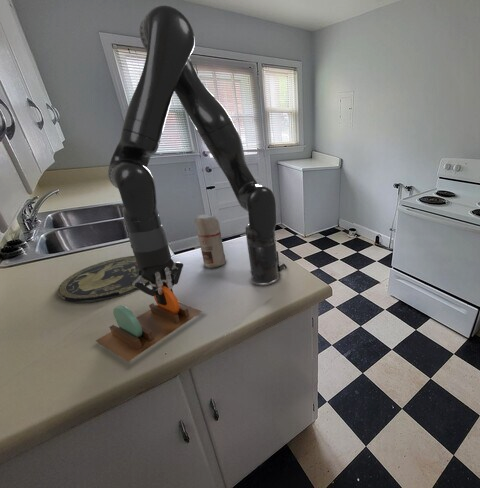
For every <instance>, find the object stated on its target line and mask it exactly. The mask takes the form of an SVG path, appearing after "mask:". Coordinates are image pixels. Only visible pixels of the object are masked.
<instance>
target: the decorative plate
mask: <svg viewBox="0 0 480 488" xmlns="http://www.w3.org/2000/svg"><path fill="white" fill-rule="evenodd" d="M138 273H139V267H138V265H137V262H136V259H135V256H134V255H129V256H122V257H118V258H112V259H109V260H105V261H100V262H98V263H96V264H92V265H90V266H88V267H85V268H82V269H80V270H79V271H76V272H74V273H73V274H71V275H70V276H68V277H67V278H65V279H64V280H63V281H62V282H61V284H60V285H59V286H58V289H57V292H58V297H59V298H60V299H61V300H62V301H65V302H67V303H75V304H79V303H80V304H83V303H93V302H94V303H95V302H101V301H106V300H111V299H113V298H117V297H121V296H123V295H126V294H130V293H133V292H134V291H137V290H138V289H137V288H135V287H134V286H132V285H131V284H130V283H131V281H135V280H136V279H137V278H138V277H139V274H138ZM144 282H145V285H144V286H147V285H148V284H150V283H149V281H147V280H145V279H144Z"/></svg>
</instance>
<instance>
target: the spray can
mask: <svg viewBox="0 0 480 488" xmlns="http://www.w3.org/2000/svg"><path fill="white" fill-rule="evenodd" d="M193 221H194V222H193V223H194V225H195V228H196V235H197V238H198V242H199V247H200V250H201V256H202V261H203V267H204V268H209V269H210V268H211V269H214V268H218V267H219V268H220V267H221V266H223V265H226V263H227V259H226V255H225V250H224V244H223V239H222V233H221V232H222V231H221V226H220V222H219V219H218V218H217V216H216V215H213V214H203V213H202V214H198V215H197V216H196V217H195V218H194V219H193Z"/></svg>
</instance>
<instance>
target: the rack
mask: <svg viewBox="0 0 480 488" xmlns="http://www.w3.org/2000/svg"><path fill="white" fill-rule="evenodd" d="M178 303H179V307H180V310H179V312H178V313H177V314H175V313H173V312H171V311H169V310H166V309H164V308H162V307H160V306H158V305H157V304H156V303H154V302H152V303H150V304H149V310H147V311H145V312H144V313H142V314H140V315H138V316H136V318H137V319H138V321H139V323H140V325H141V328H142V336H141V337H139V338H137V337H135V336H133V335H131V334H129V333H128V332H126V331H124V330H122V329H121V328H120V327H119V326H117V325H116V324H112V325H109V330H110V332H108V333H106V334H104V335H102V336H101V337H98V338H97V339H96V340H95V342H97V343H98V344H99V345H101V346H102V347H104V348H106V349H108V350H109V351H111V352H112V353H114V354H116V355H117V356H118V357H120V358H122V359H123V360H125V361H126V362H130V361H132V360H133V359H135V358H136V357H138V356H139V355H140V354H142V353H144V352H145V351H146V350H148V349H149V348H151V347H153V346H154V345H156V344H157V343H158V342H160V341H161V340H163V339H164V338H166V337H167V336H169V335H170V334H172V333H173V332H175V331H176V330H177V329H179V328H181V327H182V326H183V325H185V324H186V323H188V322H190V320H192V319H194V318H195V317H197V316H198V315H200V314H201V313H202V312H203V311H202V310H200V309H197V308H196V307H193V306H191V305H188V304H185V303H183V302H181V301H179V300H178Z"/></svg>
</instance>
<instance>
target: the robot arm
mask: <svg viewBox="0 0 480 488" xmlns="http://www.w3.org/2000/svg"><path fill="white" fill-rule="evenodd" d="M138 30H139V38H140V41H141V45H142V46H143V48H144V50H145V51H146V56H145V60H144V65H143V68H142V71H141V75H140V77H139V80H138V82H137V84H136V87H135V89H134V92H133V94H132V97H131V98H130V101H129V103H128V107H127V110H126V114H125V117H124V120H123V124H122V128H121V134H120V138H119V141H118V143H117V145H116V147H115V149H114V152H113V154H112V156H111V159H110V162H109V165H108V168H107V177H108V180H109V182H110V183H111V185H112V186H113V187H115V188H116V189H118V192H119V195H120V198H121V201H122V206H123V208H122V216H123V217H122V218H123V220H124V224H125V226H126V230H127V233H128V239H129V244H130V248H131V249H132V252H133V256H135V259H136V262H137V265H138V267H139V273H138V274H139V277H138V278H137V279H136V280H135V281H131V283H130V284H131V285H132V286H134V287H135V288H137V290H139V291H140V292H143V293H144V294H146V295H148V296H151V297H154V296H156V300H157V302H158V303H159V304H161V305H164V306H165V305H166V304H167V302H166V299H165V295H164V293H163V289H162V285H163V286H166V287H167V288H169V289H170V290H171V291H172V292H173V293H174V291H173V288H174V286H175V285H177V284H178V283H179V281H180V277H181V274H182V271H183V268H184V263H182V262H180V261H175V260H173V259H172V254H171V251H170V250H171V249H170V247H169V243H168V238H167V235H166V232H165V229H164V227H163V224H162V220H161V216H160V213H159V211H158V207H157V205H158V202H157V201H158V200H157V189H156V184H155V180H154V177H153V175H152V173H151V171H150V170H149V169H148V165H149V163H150V160H151V157H152V156H154V155H155V154H156V153H157V151H158V149H159V147H160V143H161V139H162V136H163V132H164V128H165V125H166V121H167V117H168V114H169V110H170V106H171V103H172V99H173V96H174V93H175V95H176V97H177V98H178V100H179V102H180V103H181V105H182V107H183V109H184V111H185V112H186V114H187V116H188V117H189V119H190V121H191V122H192V125H193V127H194V128H195V129H196V131H197V133H198V135H199V136H200V138H201V140H202V142H203V144H204V145H205V146H206V148H207V150H208V151H209V153H210V154H211V156H212V157H213V159H214V160H215V162H216V164H217V165H218V167H219V168H220V170H221V171H222V173H223V174H224V175H225V177H226V179H227V181H228V183H229V185H230V187H231V189H232V191H233V193H234V196H235V198H236V200H237V203H238V204H239V206H240V207H241V208H242V209H243V210H244V211H245V212H247V215H248V224H246V226H245V228H244V229H245V235H246V236H245V237H246V238H245V239H246V243H247V244H246V245H247V246H246V247H247V253H248V260H249V267H250V268H249V272H250V275H251V276H250V277H251V283H252V284H254V285H255V286H261V287H265V286H271V285H273V284H275V283H277V282H278V280H279V278H280V275H281V272H282V271H284V269H288V267H287V265H286V264H285V263H283V262H280V259H279V258H280V256H279V251H278V250H277V241H276V227H277V202H276V196H275V194H274V192H273V191H272V189H270V188H269V187H267V186H264V185H262V184H259V183H258V181H257V180H256V178H255V177H254V176H253V173H252V171H251V170H250V169H249V166H248V164H247V161H246V156H245V151H244V150H245V149H244V146H243V142H242V139H241V137H240V134H239V132H238V130H237V127H236V126H235V124H234V122H233V120H232V118H231V116H230V114H229V113H228V112H227V110H226V109H225V107H224V106H223V105H222V103H220V101H218V99H217V98H216V97H215V96H214V95H213V94H212V93H211V92H210V91H209V89H208V88H207V86H206V85H204V83H203V81H202V79H201V78H200V76H199V74H198V72H197V71H196V69H195V67H194V65H193V63H192V60H191V58H190V57H191V54H192V53H193V51H194V50H195V49H194V48H195V44H196V40H195V39H196V37H195V33H194V30H193V27H192V25H191V23H190V21H189V19H188V18H187V17H186V16H185V15H184V14H183V13H182V11H180V10H178V9H177V8H175V7H173V6H170V5H158V6H155V7H153V8H152V9H150V10H149V11H148V13H147V14H145V16H144V17H143V19H142V20H141V22H140V25H139V29H138ZM144 279H145V280H147V281H149V283H148V284H149V285H150V286H151V288H150V287H148V286H147V285H145V282H144ZM144 285H145V286H144Z"/></svg>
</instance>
